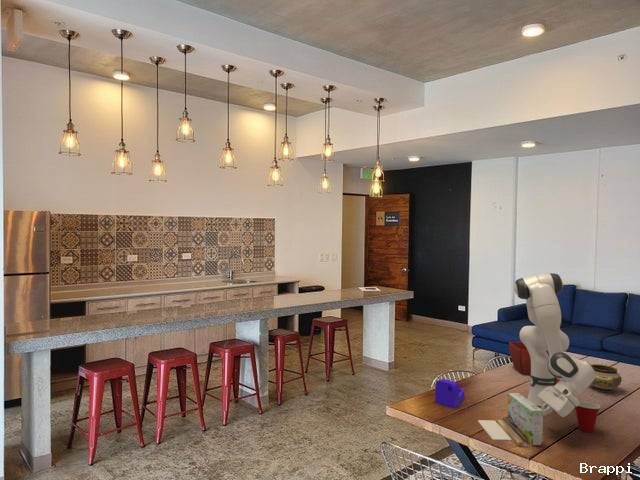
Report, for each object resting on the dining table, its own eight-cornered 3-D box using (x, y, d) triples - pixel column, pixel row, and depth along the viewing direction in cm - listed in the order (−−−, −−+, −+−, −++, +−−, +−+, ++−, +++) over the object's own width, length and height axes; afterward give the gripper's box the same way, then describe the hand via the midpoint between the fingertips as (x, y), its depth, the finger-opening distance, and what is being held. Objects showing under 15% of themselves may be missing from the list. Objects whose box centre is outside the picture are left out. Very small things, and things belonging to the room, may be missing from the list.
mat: (494, 421, 224) (494, 420, 224) (511, 440, 204) (511, 439, 204) (477, 421, 224) (477, 420, 224) (492, 440, 204) (492, 439, 204)
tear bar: (505, 423, 221) (505, 417, 221) (526, 446, 198) (526, 439, 198) (497, 423, 221) (497, 417, 221) (517, 446, 198) (518, 439, 198)
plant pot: (550, 377, 293) (551, 350, 293) (519, 376, 293) (520, 349, 293) (536, 368, 312) (537, 342, 312) (507, 367, 312) (508, 341, 312)
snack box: (506, 425, 220) (507, 392, 220) (518, 424, 221) (519, 392, 220) (530, 446, 199) (531, 410, 199) (543, 445, 200) (544, 410, 199)
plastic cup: (600, 428, 218) (601, 402, 218) (598, 436, 209) (599, 409, 209) (573, 422, 224) (574, 397, 224) (571, 430, 215) (571, 404, 215)
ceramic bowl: (614, 403, 258) (623, 378, 256) (578, 388, 268) (587, 364, 265) (616, 391, 278) (625, 367, 276) (583, 377, 288) (591, 354, 286)
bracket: (454, 408, 240) (454, 385, 239) (435, 402, 248) (435, 379, 247) (471, 399, 252) (472, 377, 252) (453, 394, 260) (453, 372, 260)
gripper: (548, 379, 220) (526, 399, 220) (571, 394, 199) (547, 417, 199) (557, 389, 220) (535, 409, 220) (582, 405, 199) (557, 428, 200)
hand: (541, 413), depth 210 cm, fingers closed
